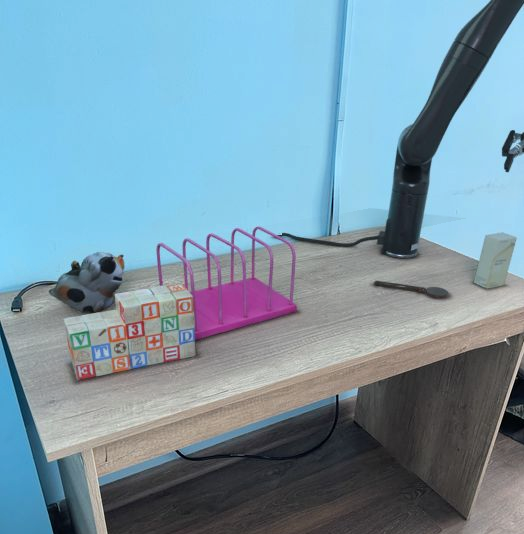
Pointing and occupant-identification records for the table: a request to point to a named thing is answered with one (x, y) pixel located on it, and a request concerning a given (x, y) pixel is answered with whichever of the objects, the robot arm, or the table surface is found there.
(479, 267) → the cosmetic box
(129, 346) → the stack of blocks
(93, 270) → the lucky cat figurine
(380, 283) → the spoon
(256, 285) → the file sorter
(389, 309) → the table surface
